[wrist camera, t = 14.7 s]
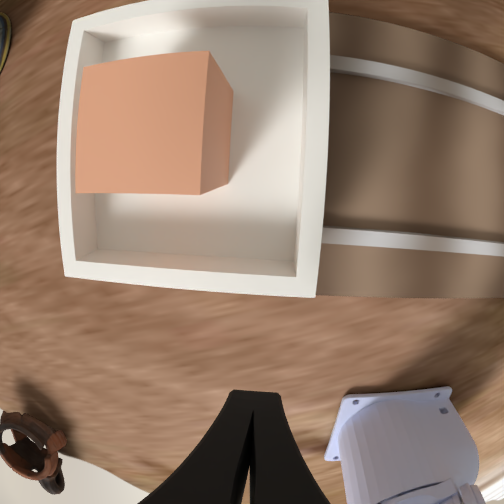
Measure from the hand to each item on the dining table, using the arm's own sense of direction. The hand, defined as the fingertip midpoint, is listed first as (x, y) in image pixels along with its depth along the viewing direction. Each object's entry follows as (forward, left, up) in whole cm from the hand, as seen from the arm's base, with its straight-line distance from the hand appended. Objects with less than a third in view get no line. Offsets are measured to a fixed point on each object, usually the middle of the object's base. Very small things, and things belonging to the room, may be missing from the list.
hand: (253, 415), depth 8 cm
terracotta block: (+4, -8, -6) cm, 11 cm away
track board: (-3, -8, -10) cm, 13 cm away
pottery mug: (+24, +22, -11) cm, 35 cm away
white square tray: (+4, -8, -9) cm, 12 cm away
